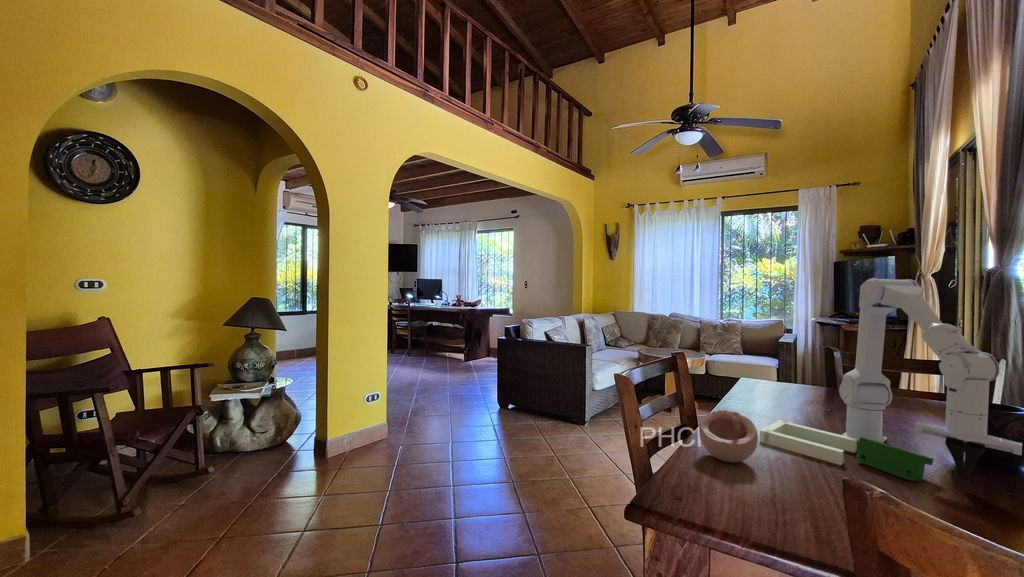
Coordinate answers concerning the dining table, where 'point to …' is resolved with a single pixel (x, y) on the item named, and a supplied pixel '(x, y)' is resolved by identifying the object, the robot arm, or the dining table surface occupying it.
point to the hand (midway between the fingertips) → (963, 477)
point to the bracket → (779, 438)
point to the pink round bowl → (728, 435)
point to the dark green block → (892, 459)
